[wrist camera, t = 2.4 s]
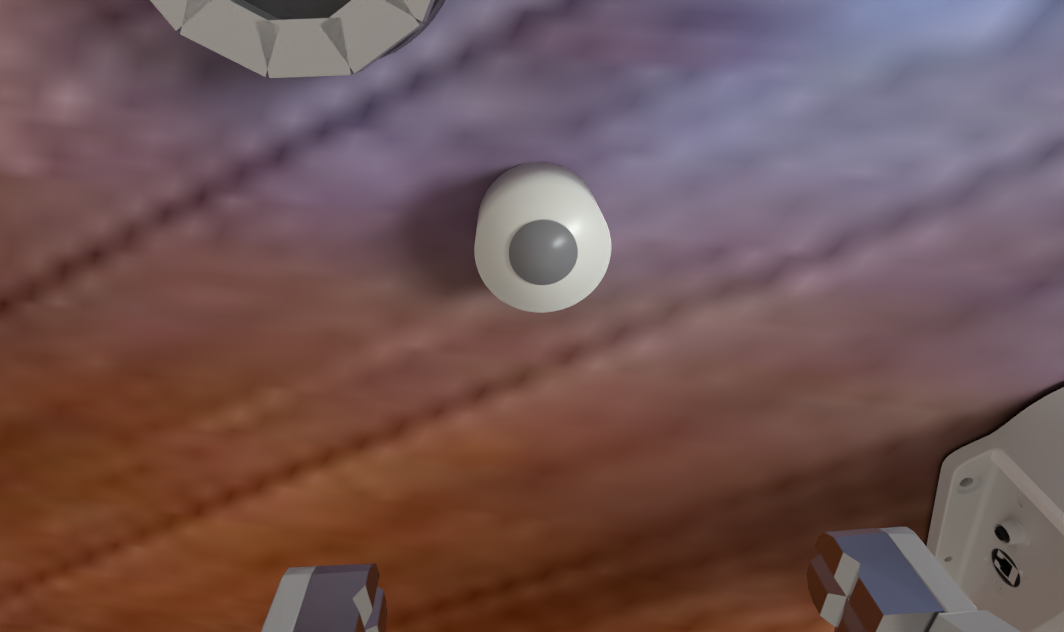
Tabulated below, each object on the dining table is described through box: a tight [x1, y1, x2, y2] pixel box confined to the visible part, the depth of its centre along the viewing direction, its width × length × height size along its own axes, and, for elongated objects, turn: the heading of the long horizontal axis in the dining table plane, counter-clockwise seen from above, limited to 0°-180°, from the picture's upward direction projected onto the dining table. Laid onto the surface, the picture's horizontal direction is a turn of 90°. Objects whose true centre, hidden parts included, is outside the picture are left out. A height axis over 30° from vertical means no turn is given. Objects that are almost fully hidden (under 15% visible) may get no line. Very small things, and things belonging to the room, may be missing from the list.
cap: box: [474, 162, 611, 312], centre depth 26 cm, size 6×6×4 cm
